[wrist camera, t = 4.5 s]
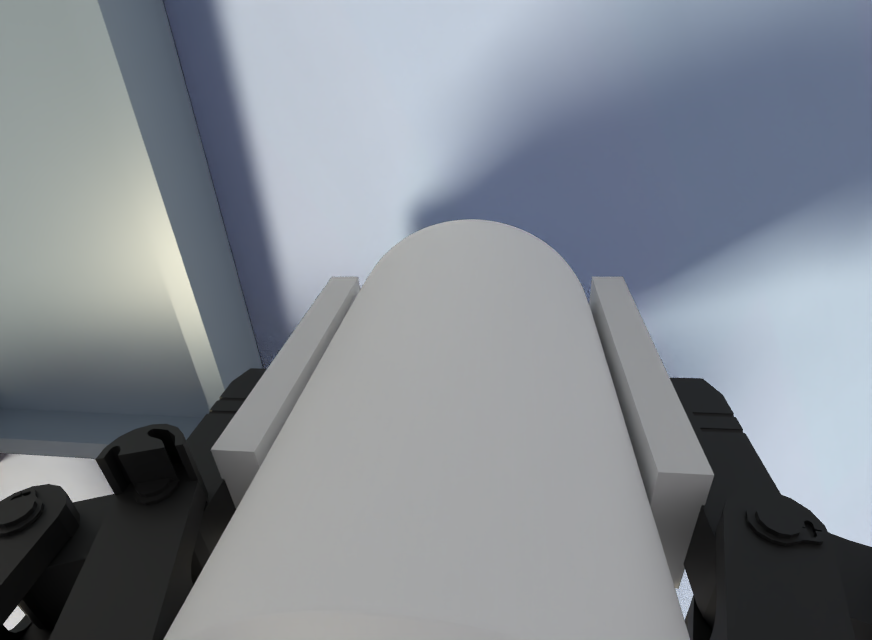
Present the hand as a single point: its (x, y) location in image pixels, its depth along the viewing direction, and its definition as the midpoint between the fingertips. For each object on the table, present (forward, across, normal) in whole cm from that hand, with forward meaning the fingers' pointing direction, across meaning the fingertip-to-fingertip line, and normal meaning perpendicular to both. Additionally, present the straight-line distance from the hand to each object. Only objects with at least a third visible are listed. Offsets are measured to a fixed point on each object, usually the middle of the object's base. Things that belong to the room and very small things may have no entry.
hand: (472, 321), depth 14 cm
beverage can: (+1, 0, 0) cm, 1 cm away
